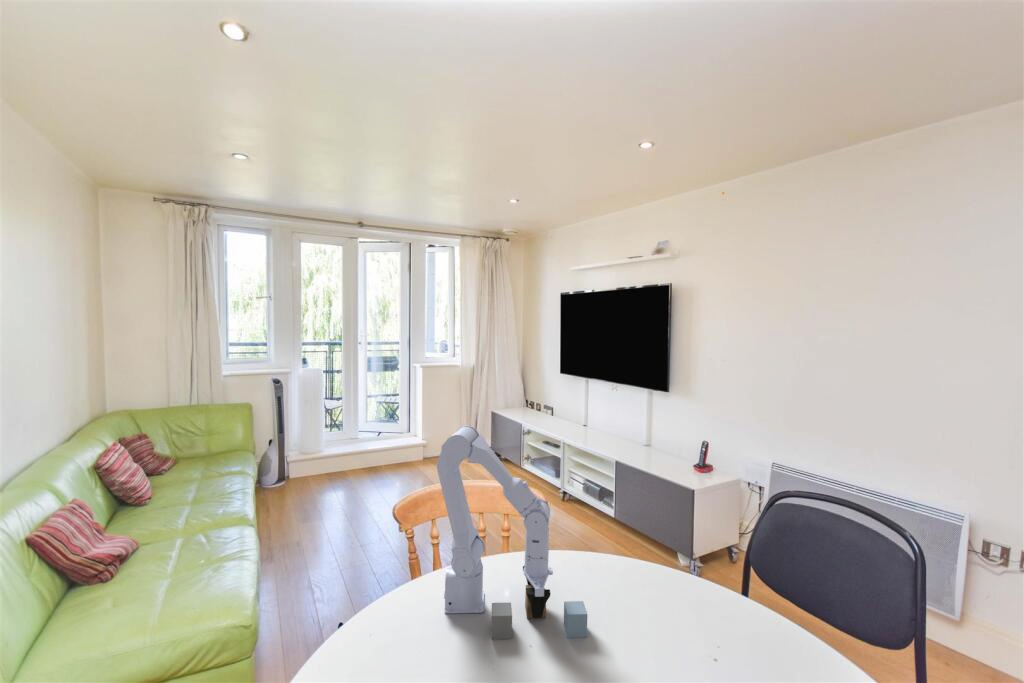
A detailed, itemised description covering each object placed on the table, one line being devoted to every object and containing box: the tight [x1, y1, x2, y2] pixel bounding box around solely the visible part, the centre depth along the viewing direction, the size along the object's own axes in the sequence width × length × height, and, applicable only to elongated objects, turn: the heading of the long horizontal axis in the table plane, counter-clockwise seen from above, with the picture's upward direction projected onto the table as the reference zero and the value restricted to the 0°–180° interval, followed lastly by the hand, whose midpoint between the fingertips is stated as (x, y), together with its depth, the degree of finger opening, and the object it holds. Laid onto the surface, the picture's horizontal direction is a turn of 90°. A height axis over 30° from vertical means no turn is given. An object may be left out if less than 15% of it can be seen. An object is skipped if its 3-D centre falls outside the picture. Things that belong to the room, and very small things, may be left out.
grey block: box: [490, 601, 513, 640], centre depth 103 cm, size 4×4×6 cm
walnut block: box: [524, 584, 547, 620], centre depth 110 cm, size 4×4×6 cm
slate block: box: [563, 600, 588, 639], centre depth 104 cm, size 4×4×6 cm
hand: (535, 606), depth 110 cm, fingers open, 7 cm apart
